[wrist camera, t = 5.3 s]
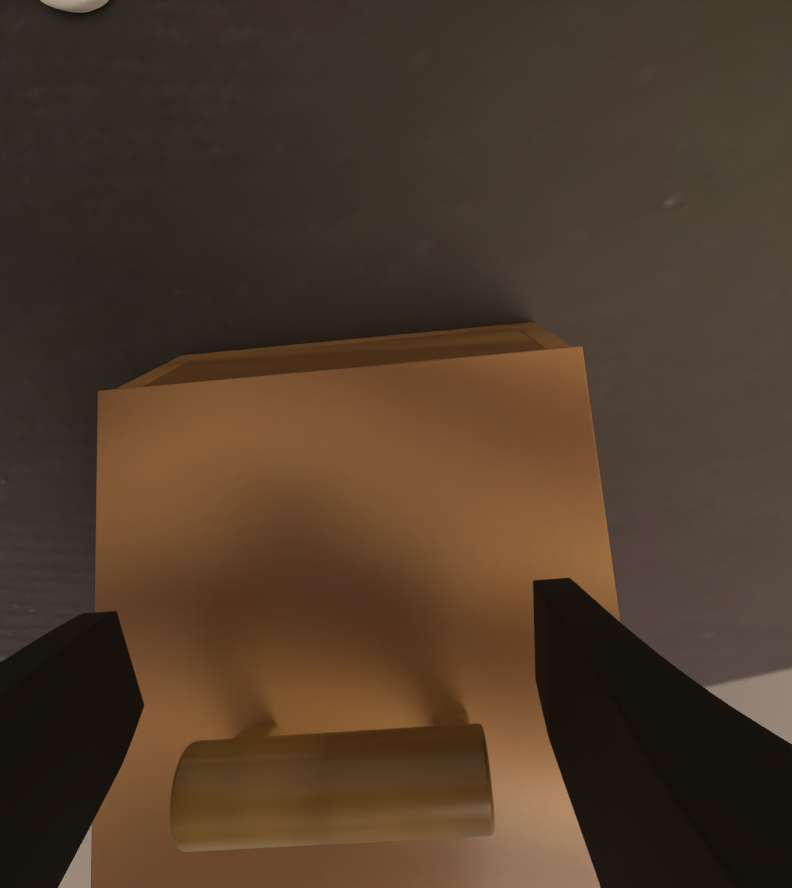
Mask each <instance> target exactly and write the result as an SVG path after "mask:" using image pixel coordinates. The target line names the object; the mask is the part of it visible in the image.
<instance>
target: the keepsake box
mask: <svg viewBox="0 0 792 888" xmlns="http://www.w3.org/2000/svg"><path fill="white" fill-rule="evenodd" d="M564 347H572V346H571V345H569V344H568V343H566V342H564V341H563V340H561V339H560V338H558V337H557V336H555V335H554V334H552V333H551V332H549V331H547V330H546V329H544V328H543V327H541V326H540V325H538V324H537V323H535V322H526V323H515V324H505V325H495V326H484V327H474V328H463V329H453V330H442V331H432V332H421V333H411V334H400V335H390V336H379V337H369V338H358V339H348V340H337V341H327V342H316V343H306V344H295V345H285V346H274V347H264V348H253V349H243V350H232V351H222V352H211V353H201V354H190V355H181V356H179V357H177V358H175V359H173V360H172V361H170V362H168V363H166V364H164V365H162V366H160V367H158V368H156V369H154V370H152V371H150V372H148V373H146V374H144V375H142V376H140V377H138V378H136V379H134V380H132V381H130V382H128V383H126V384H124V385H122V386H120V387H118V388H116V389H123V388H133V387H144V386H155V385H166V384H177V383H187V382H198V381H209V380H220V379H230V378H241V377H252V376H263V375H273V374H284V373H295V372H306V371H317V370H327V369H338V368H349V367H360V366H370V365H381V364H392V363H403V362H413V361H424V360H435V359H446V358H456V357H467V356H478V355H489V354H500V353H510V352H521V351H532V350H543V349H553V348H564Z"/></svg>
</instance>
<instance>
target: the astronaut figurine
mask: <svg viewBox="0 0 792 888" xmlns="http://www.w3.org/2000/svg"><path fill="white" fill-rule="evenodd" d="M40 1H41V2H43V3H45V4H46V5H48V6H51V7H53V8H56V9H60V10H63V11H68V12H76V13H85V12H90V11H93V10H95V9H98V8H100V7H102V6H103V5H104V4H106V3H107V2H108V1H109V0H40Z"/></svg>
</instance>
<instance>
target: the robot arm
mask: <svg viewBox="0 0 792 888" xmlns="http://www.w3.org/2000/svg"><path fill="white" fill-rule="evenodd" d="M533 603H534V643H535V680H536V685H537V689H538V694H539V698H540V703H541V707H542V712H543V716H544V720H545V724H546V729H547V733H548V737H549V740H550V743H551V746H552V749H553V752H554V755H555V758H556V761H557V764H558V767H559V770H560V772H561V775H562V778H563V781H564V784H565V787H566V790H567V793H568V795H569V798H570V801H571V804H572V807H573V810H574V813H575V815H576V818H577V821H578V824H579V827H580V830H581V833H582V835H583V838H584V841H585V844H586V847H587V850H588V853H589V855H590V858H591V861H592V864H593V867H594V870H595V872H596V875H597V878H598V881H599V884H600V887H601V888H792V744H790V743H788V742H787V741H785V740H784V739H782V738H780V737H779V736H777V735H775V734H774V733H772V732H771V731H769V730H767V729H766V728H764V727H762V726H761V725H759V724H758V723H756V722H754V721H753V720H752V719H750V718H748V717H747V716H745V715H743V714H742V713H740V712H739V711H737V710H736V709H734V708H733V707H731V706H730V705H728V704H727V703H725V702H724V701H722V700H721V699H719V698H718V697H716V696H715V695H713V694H712V693H710V692H709V691H708V690H706V689H705V688H703V687H702V686H701V685H699V684H698V683H697V682H695V681H694V680H692V679H691V678H690V677H688V676H687V675H686V674H684V673H683V672H681V671H680V670H679V669H677V668H676V667H675V666H673V665H672V664H671V663H669V662H668V661H667V660H666V659H664V658H663V657H662V656H660V655H659V654H658V653H657V652H655V651H654V650H653V649H652V648H650V647H649V646H648V645H647V644H646V643H644V642H643V641H642V640H641V639H639V638H638V637H637V636H636V635H634V634H633V633H632V632H631V631H630V630H629V629H627V628H626V627H625V626H624V625H623V624H622V623H620V622H619V621H618V620H617V619H616V618H615V617H614V616H612V615H611V614H610V613H609V612H608V611H607V610H606V609H604V608H603V607H602V606H601V605H600V604H599V603H598V602H597V601H596V600H594V599H593V598H592V597H591V596H590V595H589V594H588V593H587V592H585V591H584V590H583V589H582V588H581V587H580V586H579V585H578V584H576V583H575V582H574V581H573V580H572V579H571V578H558V579H545V580H533ZM143 708H144V702H143V699H142V695H141V692H140V688H139V685H138V682H137V678H136V675H135V671H134V668H133V665H132V661H131V658H130V655H129V651H128V648H127V644H126V641H125V638H124V634H123V631H122V627H121V624H120V621H119V617H118V614H117V611H110V612H97V613H83V614H81V615H79V616H77V617H75V618H73V619H71V620H69V621H67V622H66V623H64V624H62V625H60V626H59V627H57V628H55V629H54V630H52V631H50V632H49V633H47V634H45V635H44V636H42V637H40V638H39V639H37V640H35V641H34V642H32V643H31V644H29V645H27V646H26V647H24V648H23V649H21V650H19V651H18V652H16V653H15V654H13V655H12V656H10V657H8V658H7V659H5V660H4V661H2V662H1V663H0V888H58V886H59V884H60V882H61V880H62V879H63V877H64V875H65V873H66V871H67V869H68V867H69V866H70V864H71V862H72V860H73V858H74V856H75V854H76V852H77V850H78V848H79V846H80V844H81V843H82V841H83V839H84V837H85V835H86V833H87V832H88V830H89V828H90V826H91V824H92V822H93V820H94V818H95V817H96V815H97V813H98V811H99V809H100V807H101V805H102V803H103V801H104V799H105V797H106V795H107V794H108V792H109V790H110V788H111V786H112V784H113V782H114V780H115V778H116V776H117V774H118V772H119V770H120V768H121V766H122V764H123V762H124V759H125V757H126V754H127V752H128V749H129V747H130V744H131V741H132V739H133V736H134V734H135V731H136V728H137V725H138V722H139V719H140V717H141V714H142V711H143Z"/></svg>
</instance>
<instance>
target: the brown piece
mask: <svg viewBox="0 0 792 888" xmlns="http://www.w3.org/2000/svg"><path fill="white" fill-rule="evenodd" d="M558 578H571V579H572V580H573V581H574V582H575V583H576V584H578V585H579V586H580V587H581V588H582V589H583V590H584V591H585V592H587V593H588V594H589V595H590V596H591V597H592V598H593V599H594V600H596V601H597V602H598V603H599V604H600V605H601V606H602V607H603V608H604V609H606V610H607V611H608V612H609V613H610V614H611V615H612V616H614V617H615V618H616V619H617V620H618V621H619V622H620V616H619V609H618V601H617V594H616V587H615V580H614V572H613V565H612V558H611V551H610V543H609V536H608V529H607V522H606V514H605V507H604V500H603V493H602V485H601V478H600V471H599V464H598V456H597V449H596V442H595V435H594V427H593V420H592V413H591V406H590V398H589V391H588V384H587V377H586V369H585V362H584V355H583V348H582V346H575V347H564V348H553V349H543V350H532V351H521V352H510V353H500V354H489V355H478V356H467V357H456V358H446V359H435V360H424V361H413V362H403V363H392V364H381V365H370V366H360V367H349V368H338V369H327V370H317V371H306V372H295V373H284V374H273V375H263V376H252V377H241V378H230V379H220V380H209V381H198V382H187V383H177V384H166V385H155V386H144V387H133V388H123V389H112V390H101V391H98V413H97V486H96V559H95V613H97V612H110V611H117V614H118V617H119V621H120V624H121V627H122V631H123V634H124V638H125V641H126V644H127V648H128V651H129V655H130V658H131V661H132V665H133V668H134V671H135V675H136V678H137V682H138V685H139V688H140V692H141V695H142V699H143V702H144V708H143V711H142V714H141V717H140V719H139V722H138V725H137V728H136V731H135V734H134V736H133V739H132V741H131V744H130V747H129V749H128V752H127V754H126V757H125V759H124V762H123V764H122V766H121V768H120V770H119V772H118V774H117V776H116V778H115V780H114V782H113V784H112V786H111V788H110V790H109V792H108V794H107V795H106V797H105V799H104V801H103V803H102V805H101V807H100V809H99V811H98V813H97V815H96V817H95V818H94V820H93V822H92V851H91V852H92V853H91V858H92V859H91V888H601V887H600V884H599V881H598V878H597V875H596V872H595V870H594V867H593V864H592V861H591V858H590V855H589V853H588V850H587V847H586V844H585V841H584V838H583V835H582V833H581V830H580V827H579V824H578V821H577V818H576V815H575V813H574V810H573V807H572V804H571V801H570V798H569V795H568V793H567V790H566V787H565V784H564V781H563V778H562V775H561V772H560V770H559V767H558V764H557V761H556V758H555V755H554V752H553V749H552V746H551V743H550V740H549V737H548V733H547V729H546V724H545V720H544V716H543V712H542V707H541V703H540V698H539V694H538V689H537V685H536V680H535V643H534V603H533V580H545V579H558Z"/></svg>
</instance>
